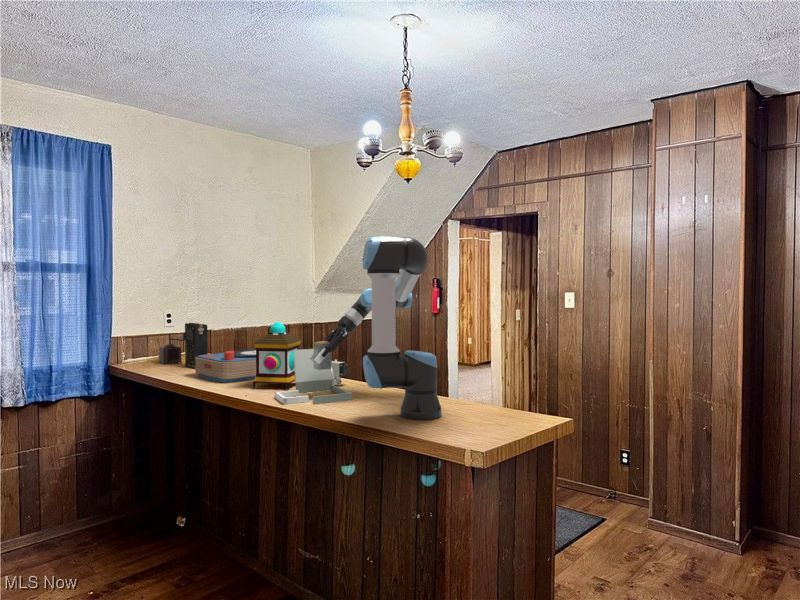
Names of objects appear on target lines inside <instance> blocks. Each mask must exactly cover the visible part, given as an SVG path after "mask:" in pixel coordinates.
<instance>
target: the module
mask: <svg viewBox="0 0 800 600" xmlns="http://www.w3.org/2000/svg"><path fill="white" fill-rule="evenodd" d="M329 343H330V342H327V341H323V340H321V341H320V340H319V341H316V342H313V344H312V345H313V349H314V359H315V358H316V357H317V356H318V355H319V354H320V353H321V352H322V350H323V349H324V348H325V346H328V345H329ZM325 349H326V348H325ZM332 354H333V353H332V351H331V352H329V354H328V355H327V356H326V357H325V358H324V359H323V361H322V362H321V363H320V364H318V363H317V362H316V361H315V360H314V369H317V370H325V369H332V361H333V360H332V358H333V357H332Z"/></svg>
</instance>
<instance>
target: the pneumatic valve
mask: <svg viewBox="0 0 800 600" xmlns="http://www.w3.org/2000/svg"><path fill="white" fill-rule="evenodd" d="M332 370H333V377H334V383H335V384H333V382H332V385H337V386H340V385H339V384H341V385H342V382H343V381H342V378H341V377H346V376H347V374H348V373H349V366H348V365H347V362H346V361H338V359H334V360H332Z"/></svg>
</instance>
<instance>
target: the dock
mask: <svg viewBox="0 0 800 600" xmlns="http://www.w3.org/2000/svg"><path fill="white" fill-rule="evenodd" d="M293 396H296V397H293ZM274 399H276V400H277V401H278V402H280V403H281V404H283V405H285V406H286V405H292V404H293V403H295V404H302V403H301V402H304V403H309V395H300V394H299V390H296V389H294V390H284V391H282V390H281V391H275V392H274Z"/></svg>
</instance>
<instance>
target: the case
mask: <svg viewBox="0 0 800 600" xmlns="http://www.w3.org/2000/svg"><path fill="white" fill-rule="evenodd" d="M293 354H294V369H295V381H294V383H295V390H299V393H302V394H308V393H307V392H313V393H318V392H317V391H323V392H328V391H327V390H332V391H331V392H333V391H334V392H333V394H332V393H331V394H323V395H314V396H312V404H313V405H320V403H322V404H330V402H332V403H339V401H341V402H349V401H348V400H351V401H353V392H349V391H347V390H345V389H343V388H340V387H339V386H338V385H337V386H335V385H332V382H333V384H335V383H334V376H333V370H332V369H325V370H317V369H314V362H313V361H312V360H311V359H310V357H311V356H312V355H313V354H314V348H308V349H305V348H304V349H299V350H293ZM335 392H336V393H335ZM337 393H338V394H337Z"/></svg>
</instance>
